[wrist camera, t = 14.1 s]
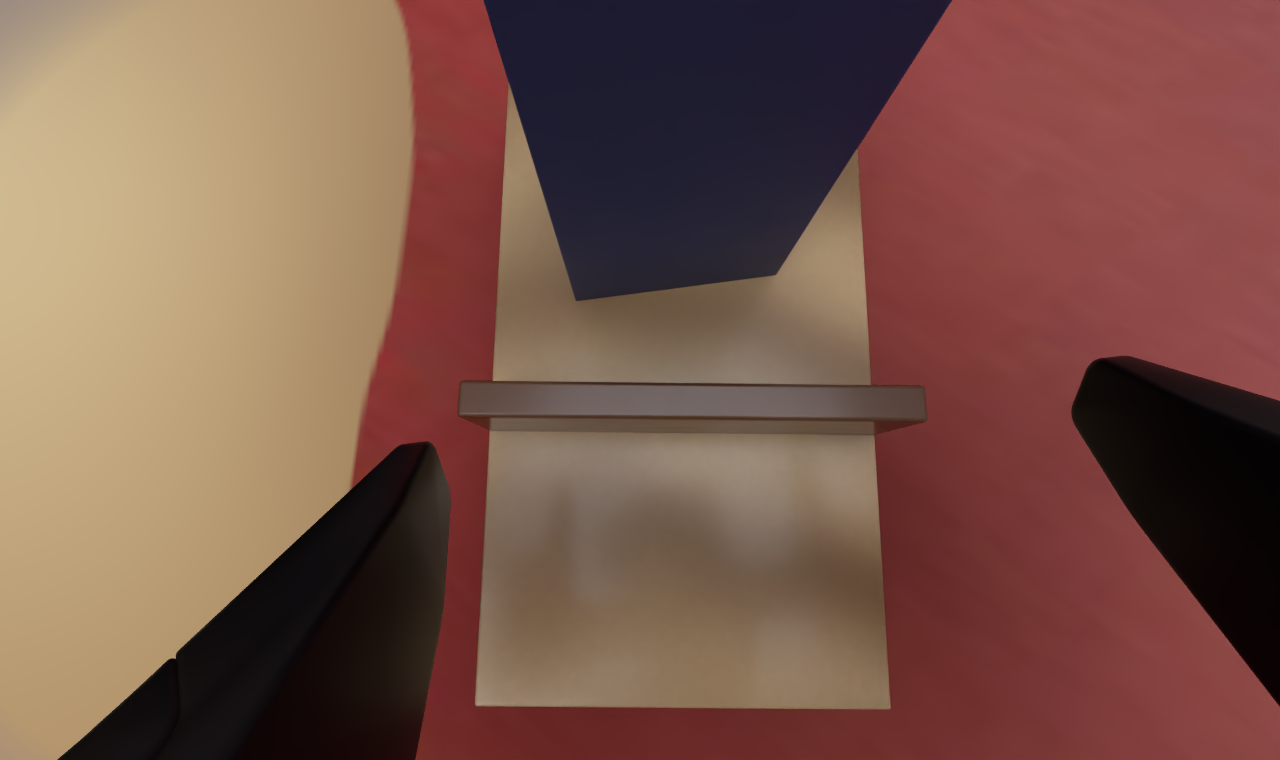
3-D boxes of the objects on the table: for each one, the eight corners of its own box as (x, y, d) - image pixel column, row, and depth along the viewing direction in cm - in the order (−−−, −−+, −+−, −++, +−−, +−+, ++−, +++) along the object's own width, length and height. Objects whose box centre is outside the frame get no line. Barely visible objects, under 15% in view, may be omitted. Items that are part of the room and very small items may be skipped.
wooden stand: (832, 660, 19) (955, 763, 12) (511, 658, 19) (433, 759, 12) (809, 134, 23) (893, -41, 15) (534, 130, 23) (485, -47, 15)
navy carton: (776, 275, 17) (1159, -319, 5) (575, 301, 17) (407, -244, 4) (745, 111, 18) (995, -756, 5) (554, 134, 18) (367, -709, 5)
